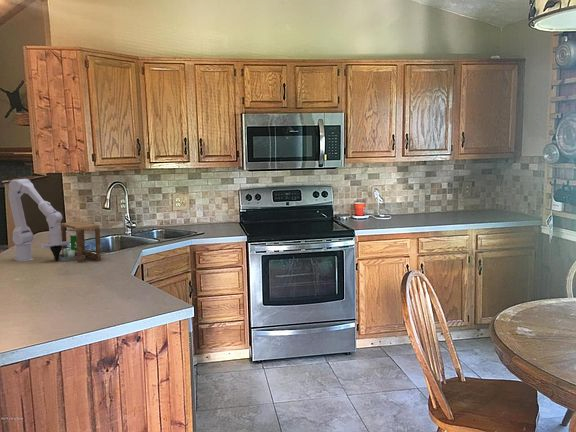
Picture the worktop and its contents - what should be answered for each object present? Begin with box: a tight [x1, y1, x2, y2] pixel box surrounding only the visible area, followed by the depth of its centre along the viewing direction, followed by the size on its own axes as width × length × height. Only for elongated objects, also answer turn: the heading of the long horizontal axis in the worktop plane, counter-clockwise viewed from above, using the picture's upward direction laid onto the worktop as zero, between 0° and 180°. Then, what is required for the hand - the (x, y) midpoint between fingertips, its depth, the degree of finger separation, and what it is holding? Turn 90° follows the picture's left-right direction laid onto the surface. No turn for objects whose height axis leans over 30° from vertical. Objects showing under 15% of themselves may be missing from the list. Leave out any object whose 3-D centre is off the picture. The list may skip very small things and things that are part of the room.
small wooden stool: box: [61, 221, 102, 263], centre depth 280 cm, size 22×12×19 cm, turn 45°
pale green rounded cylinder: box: [63, 247, 71, 258], centre depth 280 cm, size 4×4×5 cm
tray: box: [53, 252, 86, 263], centre depth 278 cm, size 12×12×3 cm
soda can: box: [69, 231, 77, 252], centre depth 298 cm, size 8×8×12 cm
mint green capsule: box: [68, 250, 75, 257], centre depth 276 cm, size 4×4×5 cm
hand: (56, 259), depth 274 cm, fingers closed
